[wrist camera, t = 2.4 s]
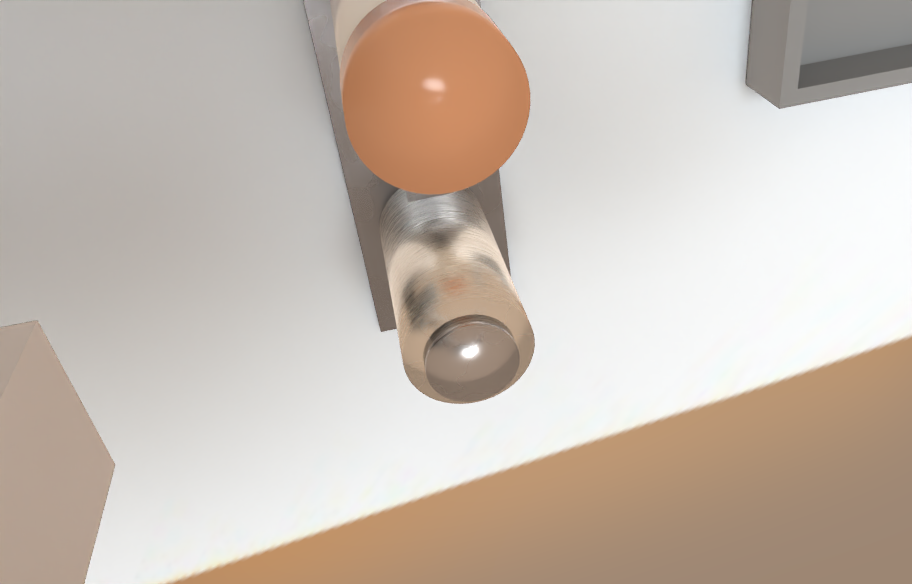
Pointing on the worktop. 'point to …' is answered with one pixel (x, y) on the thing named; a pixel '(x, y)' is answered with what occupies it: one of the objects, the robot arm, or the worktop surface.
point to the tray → (828, 48)
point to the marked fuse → (429, 91)
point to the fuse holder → (433, 264)
